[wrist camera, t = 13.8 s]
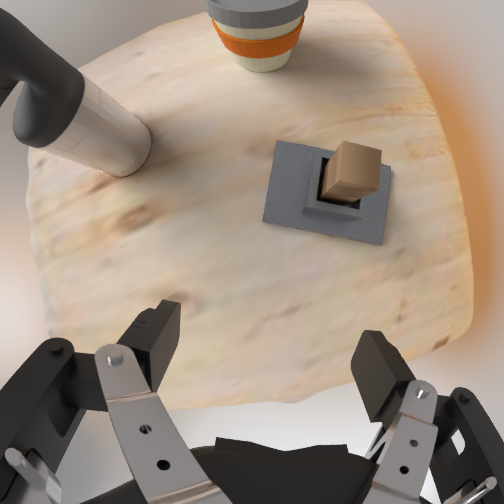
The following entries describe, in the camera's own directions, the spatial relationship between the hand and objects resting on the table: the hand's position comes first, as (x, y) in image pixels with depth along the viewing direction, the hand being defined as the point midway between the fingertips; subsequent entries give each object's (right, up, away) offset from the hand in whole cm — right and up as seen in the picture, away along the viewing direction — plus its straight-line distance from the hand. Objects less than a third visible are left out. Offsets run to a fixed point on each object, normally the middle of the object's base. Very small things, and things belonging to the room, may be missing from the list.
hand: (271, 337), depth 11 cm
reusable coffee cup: (+1, +35, +23) cm, 42 cm away
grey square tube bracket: (+9, +11, +24) cm, 28 cm away
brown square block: (+9, +11, +21) cm, 26 cm away
